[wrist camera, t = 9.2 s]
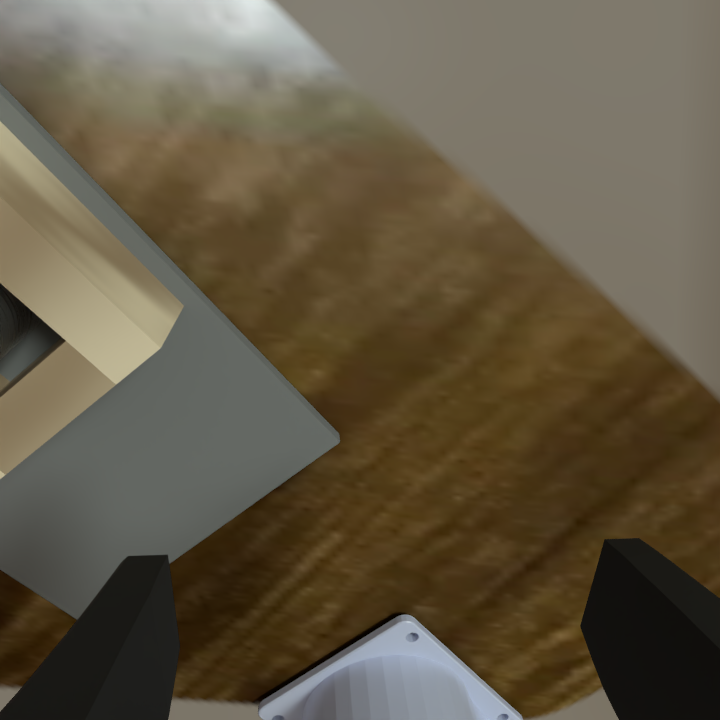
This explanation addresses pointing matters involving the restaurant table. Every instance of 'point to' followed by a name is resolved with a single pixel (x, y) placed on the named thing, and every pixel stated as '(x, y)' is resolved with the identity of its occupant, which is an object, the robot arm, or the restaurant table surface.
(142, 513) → the charcoal mat
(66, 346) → the birch square frame
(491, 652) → the restaurant table surface
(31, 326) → the metal pin
